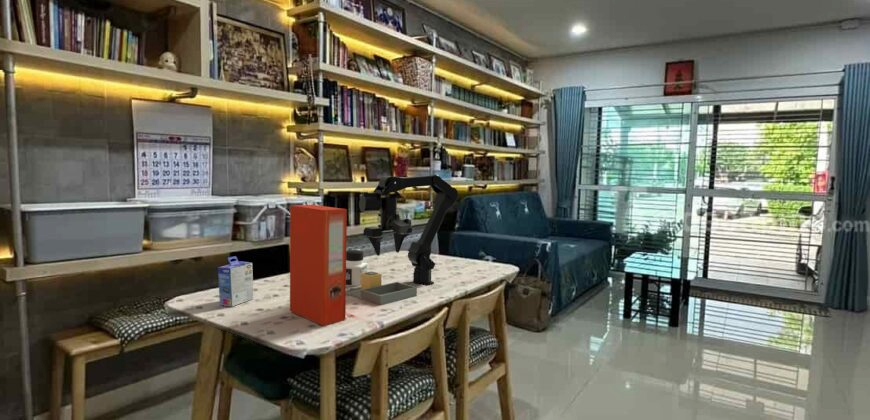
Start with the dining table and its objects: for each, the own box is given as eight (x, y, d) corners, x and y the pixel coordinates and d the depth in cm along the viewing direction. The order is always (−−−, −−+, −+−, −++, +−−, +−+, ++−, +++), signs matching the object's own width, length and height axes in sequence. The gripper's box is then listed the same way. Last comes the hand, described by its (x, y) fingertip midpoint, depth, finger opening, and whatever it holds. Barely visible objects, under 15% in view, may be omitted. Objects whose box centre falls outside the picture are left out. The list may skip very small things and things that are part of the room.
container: (360, 287, 170) (360, 252, 168) (340, 286, 171) (340, 251, 170) (367, 282, 177) (367, 248, 176) (348, 281, 179) (348, 247, 177)
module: (372, 288, 166) (372, 270, 166) (381, 291, 163) (381, 272, 162) (360, 290, 163) (361, 272, 162) (370, 293, 159) (370, 275, 159)
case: (395, 291, 166) (395, 281, 166) (416, 297, 159) (416, 287, 158) (359, 299, 154) (359, 289, 154) (380, 306, 147) (380, 296, 147)
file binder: (313, 306, 146) (313, 204, 143) (346, 319, 134) (346, 208, 131) (289, 311, 140) (289, 205, 137) (322, 326, 128) (322, 210, 126)
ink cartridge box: (240, 297, 155) (240, 253, 153) (254, 299, 153) (253, 255, 151) (217, 305, 145) (216, 259, 144) (232, 307, 143) (231, 260, 142)
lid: (377, 285, 173) (377, 281, 173) (395, 291, 166) (395, 286, 166) (341, 293, 161) (341, 288, 161) (359, 299, 154) (359, 294, 154)
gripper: (383, 214, 155) (382, 260, 157) (422, 211, 169) (422, 254, 171) (362, 211, 163) (362, 255, 164) (401, 209, 177) (401, 249, 178)
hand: (388, 253), depth 169 cm, fingers open, 9 cm apart
